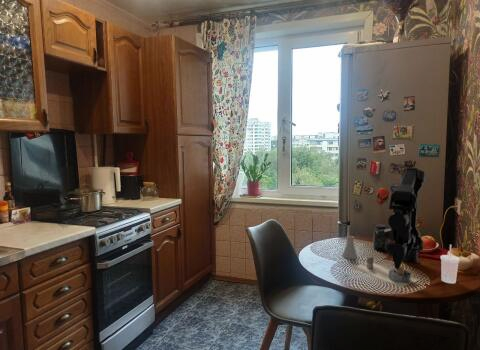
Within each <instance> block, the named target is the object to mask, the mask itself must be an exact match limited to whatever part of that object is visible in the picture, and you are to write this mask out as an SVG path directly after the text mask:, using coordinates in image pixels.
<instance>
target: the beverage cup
mask: <svg viewBox="0 0 480 350" xmlns="http://www.w3.org/2000/svg"><path fill="white" fill-rule="evenodd" d="M439 258H440V260H441V261H440V262H441V263H440V264H441V265H440V266H441V267H440V269H441V270H440V271H441V272H440V273H441V274H440V276H441V279H440V280H441V282H444V283H447V284H456V282H457V275H458V268H459V263H460V260H461V259H460V258H459V257H457V256H456V255H455V256H454V255H452V244H449V254H442V255H440V257H439Z"/></svg>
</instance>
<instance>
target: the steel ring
mask: <svg viewBox="0 0 480 350" xmlns="http://www.w3.org/2000/svg"><path fill="white" fill-rule="evenodd" d="M390 269H391V270H390V271H389V278H390V279H391V280H392V281H395V282H399V283H409V282H410V280H411V276H412V273H411V272H409V271H408V270H406V269H404V275H400V274H396V268H390Z"/></svg>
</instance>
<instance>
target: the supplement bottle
mask: <svg viewBox="0 0 480 350" xmlns="http://www.w3.org/2000/svg"><path fill="white" fill-rule="evenodd" d="M385 229H388V226H387V225H386V224H383V223H382V224H376V225H375V230H374V231H373V240H372V241H373V244H372V245H373V246H372V247H373V250H375V251H376V252H382V253H383V252H384V253H385V252H387V251H386V245H387V244H388V243H389V242H390V239H386V240H382V241H379V240H378V238H377V237H376V233H377V232H378V231H379V230H385Z"/></svg>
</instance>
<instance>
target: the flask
mask: <svg viewBox="0 0 480 350" xmlns="http://www.w3.org/2000/svg"><path fill="white" fill-rule="evenodd" d="M346 239H347V240H346V245H345V248H344V250H343V252H342V255H341V257H343V259H347V260H354V259H356V260H357V259H358V253H357V251H356V248H355V244H354V239H355V237H354V235H353V236H352V235H347V236H346Z"/></svg>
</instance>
